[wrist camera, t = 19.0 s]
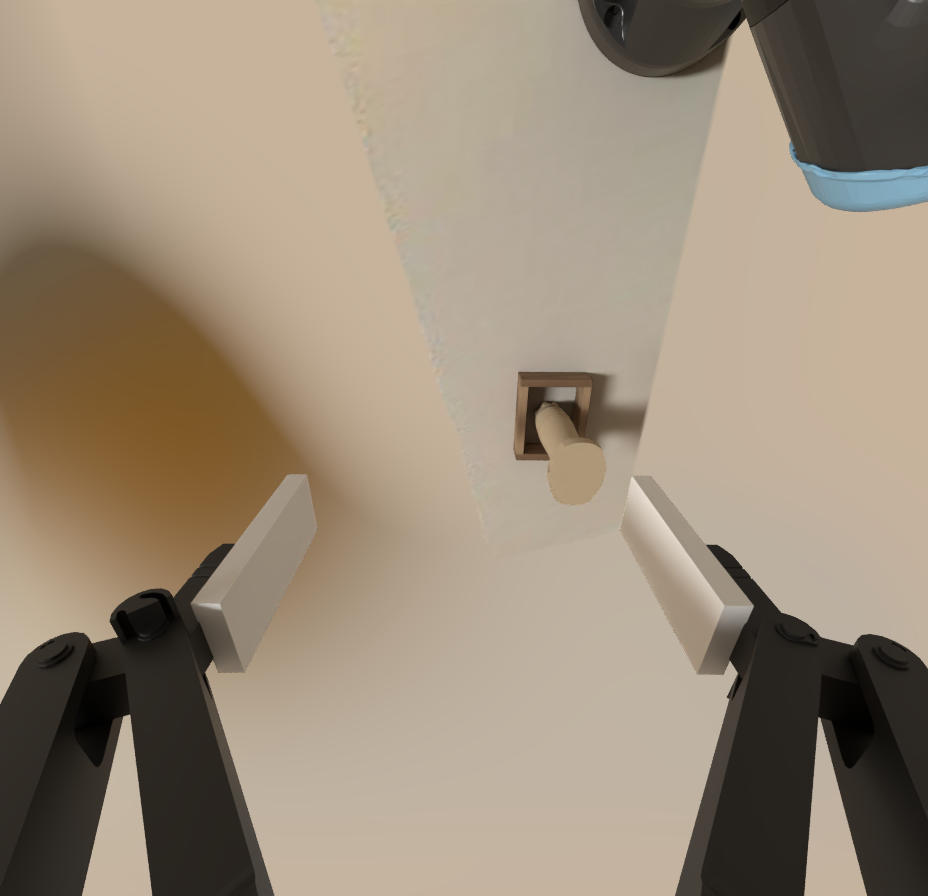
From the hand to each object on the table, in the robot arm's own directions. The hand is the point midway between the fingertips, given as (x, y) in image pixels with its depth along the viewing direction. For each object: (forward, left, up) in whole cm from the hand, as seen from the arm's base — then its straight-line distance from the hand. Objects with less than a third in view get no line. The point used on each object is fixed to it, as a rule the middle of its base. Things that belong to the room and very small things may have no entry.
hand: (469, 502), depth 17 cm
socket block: (+9, +10, -33) cm, 35 cm away
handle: (+9, +10, -33) cm, 36 cm away
